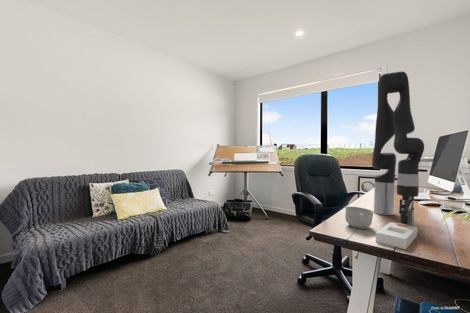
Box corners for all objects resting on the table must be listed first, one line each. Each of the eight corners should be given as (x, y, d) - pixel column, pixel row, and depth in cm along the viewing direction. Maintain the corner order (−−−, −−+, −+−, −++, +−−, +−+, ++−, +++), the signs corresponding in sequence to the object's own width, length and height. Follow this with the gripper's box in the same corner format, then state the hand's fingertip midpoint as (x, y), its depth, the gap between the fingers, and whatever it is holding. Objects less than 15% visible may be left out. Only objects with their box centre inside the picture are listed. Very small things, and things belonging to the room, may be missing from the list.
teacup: (346, 221, 112) (346, 204, 111) (373, 225, 106) (373, 208, 106) (343, 229, 100) (343, 210, 99) (372, 234, 94) (373, 214, 94)
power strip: (390, 230, 100) (390, 220, 100) (417, 235, 94) (417, 225, 93) (375, 241, 86) (376, 230, 86) (405, 249, 80) (405, 237, 80)
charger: (401, 227, 104) (402, 202, 104) (413, 230, 101) (414, 204, 101) (399, 229, 101) (400, 204, 101) (411, 232, 98) (412, 205, 98)
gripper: (401, 182, 108) (400, 217, 108) (392, 184, 98) (391, 223, 99) (421, 184, 103) (420, 221, 103) (415, 186, 93) (413, 227, 93)
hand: (406, 222), depth 101 cm, fingers open, 8 cm apart
